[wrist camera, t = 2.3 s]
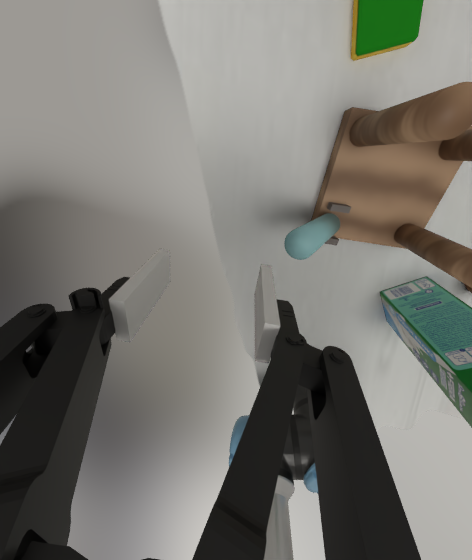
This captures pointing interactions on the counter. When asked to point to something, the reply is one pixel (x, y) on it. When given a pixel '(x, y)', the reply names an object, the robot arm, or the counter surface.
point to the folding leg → (311, 236)
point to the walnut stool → (400, 175)
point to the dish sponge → (384, 26)
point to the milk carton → (435, 335)
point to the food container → (468, 288)
